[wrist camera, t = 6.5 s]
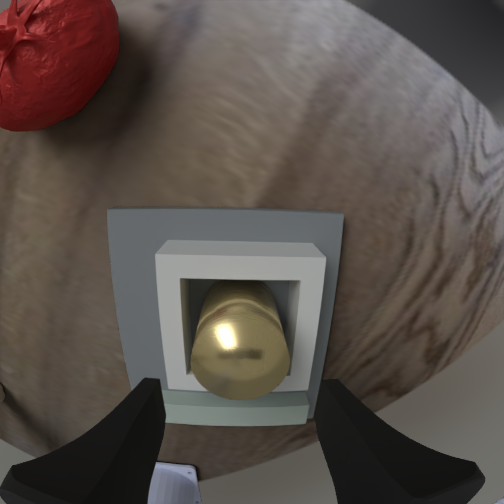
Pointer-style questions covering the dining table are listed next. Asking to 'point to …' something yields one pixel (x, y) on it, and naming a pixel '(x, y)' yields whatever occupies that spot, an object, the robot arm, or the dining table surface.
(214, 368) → the brass cylinder
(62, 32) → the red tomato
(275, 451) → the dining table surface
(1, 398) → the handle
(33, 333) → the dining table surface
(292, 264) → the jig
